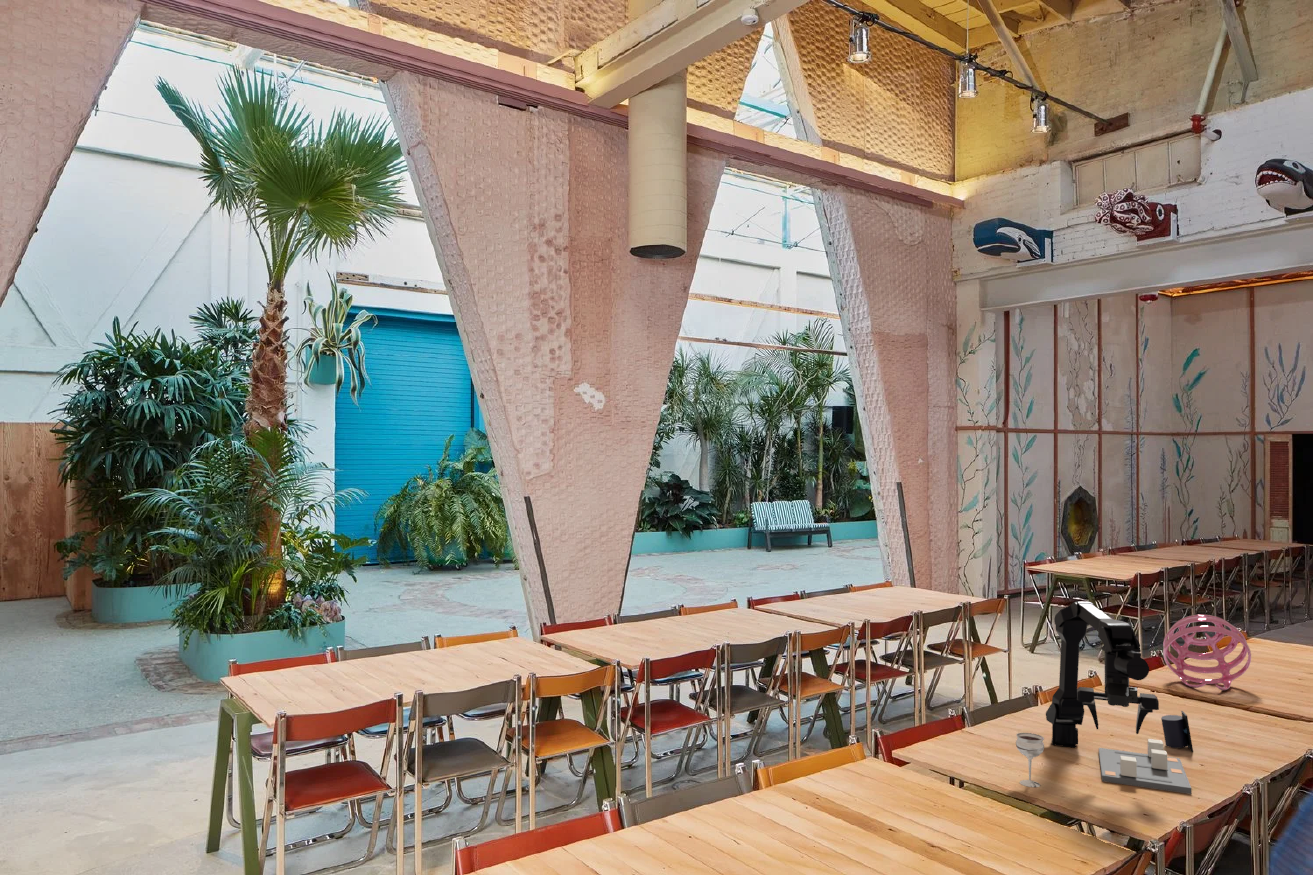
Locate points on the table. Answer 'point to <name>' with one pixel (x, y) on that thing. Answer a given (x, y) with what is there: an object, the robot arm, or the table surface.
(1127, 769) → the switch near
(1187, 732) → the speaker
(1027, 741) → the wineglass
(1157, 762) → the switch mid
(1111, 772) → the switch board
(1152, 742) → the switch far
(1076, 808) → the table surface
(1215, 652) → the spiral basket
